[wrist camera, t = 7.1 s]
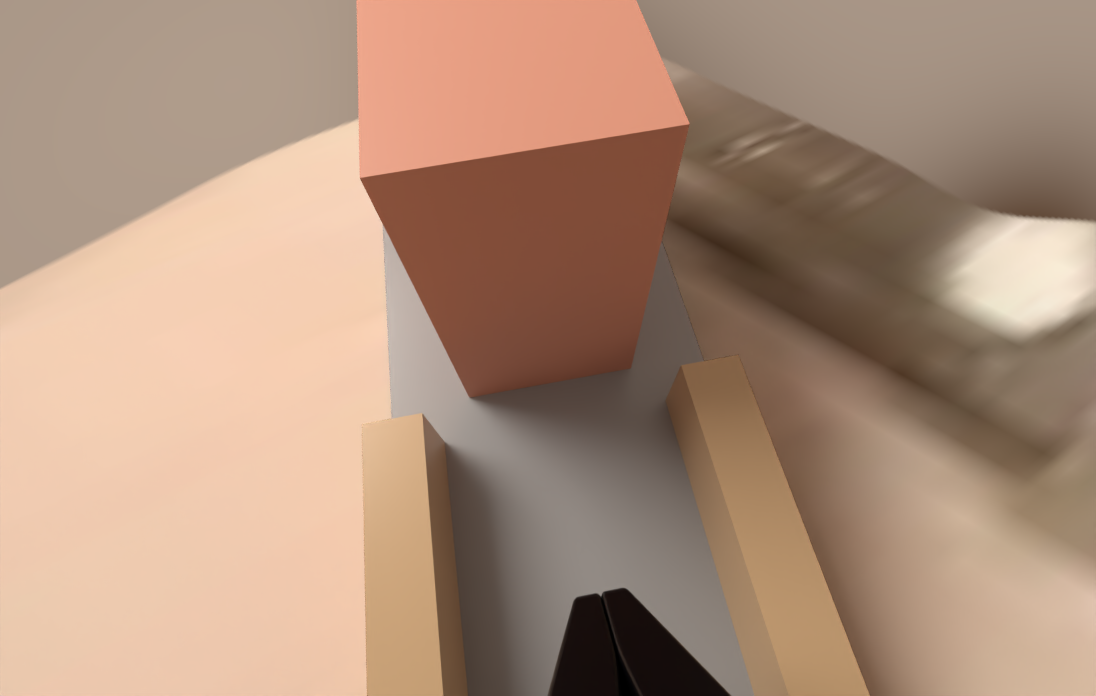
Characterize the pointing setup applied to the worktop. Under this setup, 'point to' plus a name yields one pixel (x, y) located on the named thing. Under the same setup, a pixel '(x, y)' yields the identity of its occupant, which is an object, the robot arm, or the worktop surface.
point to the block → (520, 175)
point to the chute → (584, 518)
